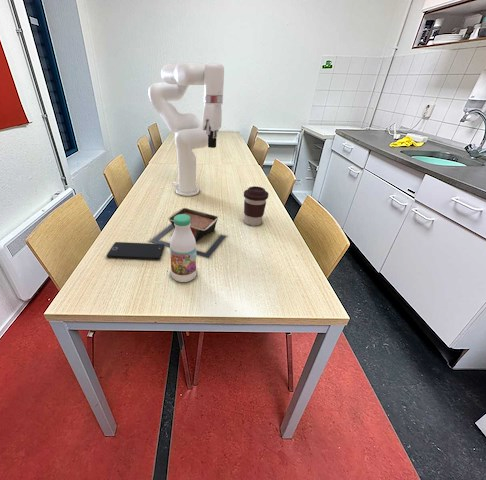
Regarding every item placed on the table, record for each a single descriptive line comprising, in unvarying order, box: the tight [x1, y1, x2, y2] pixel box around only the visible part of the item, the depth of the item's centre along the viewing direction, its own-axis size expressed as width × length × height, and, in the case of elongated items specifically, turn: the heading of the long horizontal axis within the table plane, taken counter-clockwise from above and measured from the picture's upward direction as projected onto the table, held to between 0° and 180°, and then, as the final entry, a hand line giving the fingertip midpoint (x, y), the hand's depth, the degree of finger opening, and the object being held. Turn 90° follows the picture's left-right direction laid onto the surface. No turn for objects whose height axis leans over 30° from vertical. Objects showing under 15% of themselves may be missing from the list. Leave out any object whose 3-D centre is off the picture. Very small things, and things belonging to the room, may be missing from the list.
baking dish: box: [168, 207, 219, 243], centre depth 105 cm, size 14×18×10 cm
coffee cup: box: [243, 185, 270, 227], centre depth 113 cm, size 10×10×15 cm
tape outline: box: [149, 223, 226, 258], centre depth 103 cm, size 24×16×1 cm
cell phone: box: [106, 241, 165, 261], centre depth 94 cm, size 9×18×1 cm, turn 87°
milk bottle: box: [169, 214, 197, 283], centre depth 79 cm, size 8×8×20 cm
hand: (212, 147), depth 118 cm, fingers closed
